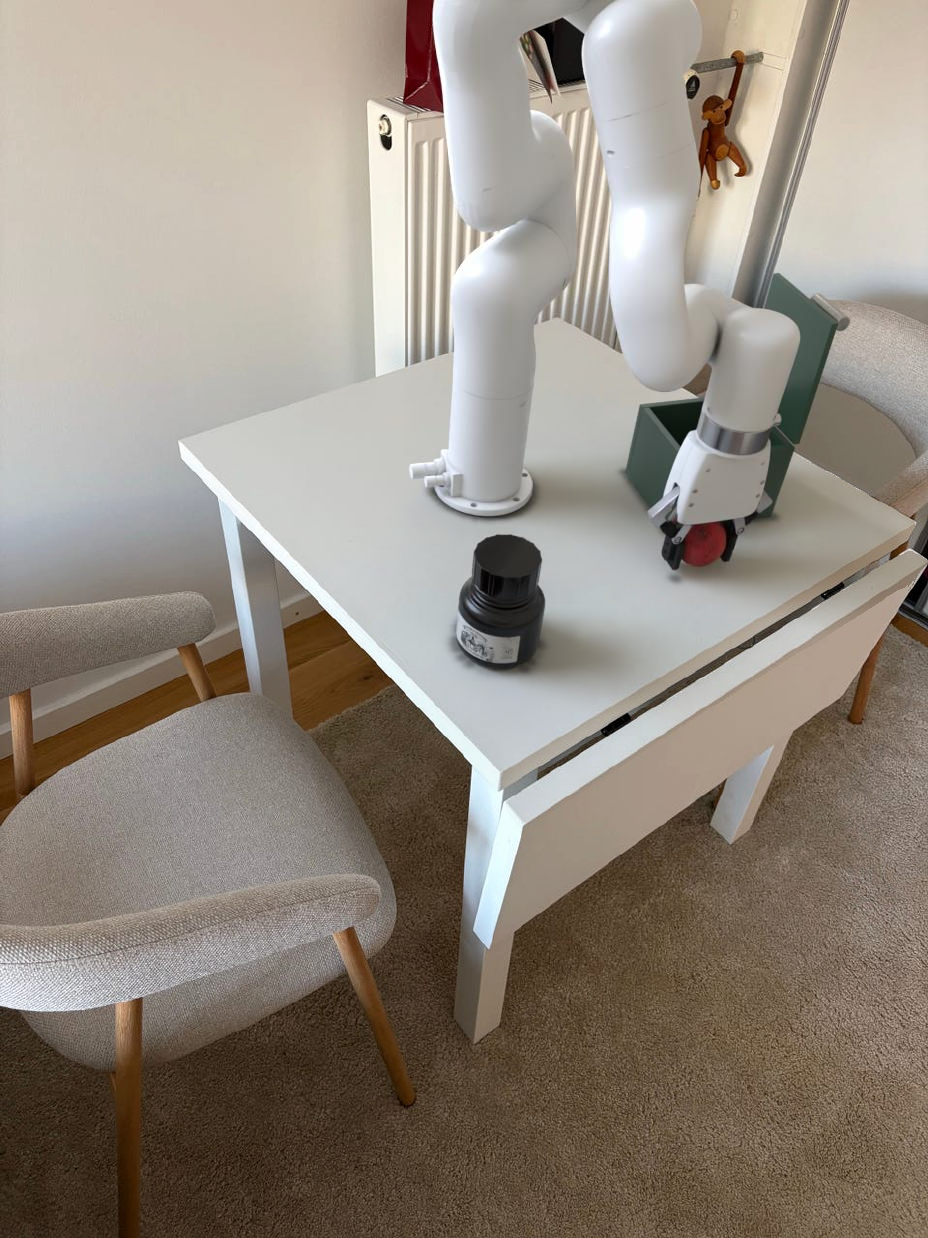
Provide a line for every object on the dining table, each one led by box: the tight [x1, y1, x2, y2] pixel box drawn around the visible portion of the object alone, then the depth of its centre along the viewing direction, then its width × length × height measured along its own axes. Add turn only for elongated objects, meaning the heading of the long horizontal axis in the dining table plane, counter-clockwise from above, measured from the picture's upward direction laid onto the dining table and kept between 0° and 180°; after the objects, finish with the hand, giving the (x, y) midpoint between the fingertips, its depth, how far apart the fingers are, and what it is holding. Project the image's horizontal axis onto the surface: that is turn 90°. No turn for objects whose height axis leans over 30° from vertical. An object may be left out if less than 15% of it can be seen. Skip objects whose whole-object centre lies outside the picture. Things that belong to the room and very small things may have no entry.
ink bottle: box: [455, 533, 546, 670], centre depth 102 cm, size 10×9×12 cm
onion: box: [681, 521, 726, 568], centre depth 115 cm, size 6×6×8 cm
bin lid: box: [763, 272, 851, 446], centre depth 118 cm, size 16×13×5 cm
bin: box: [624, 396, 796, 529], centre depth 124 cm, size 15×13×10 cm
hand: (695, 557), depth 117 cm, fingers closed on onion, 6 cm apart
